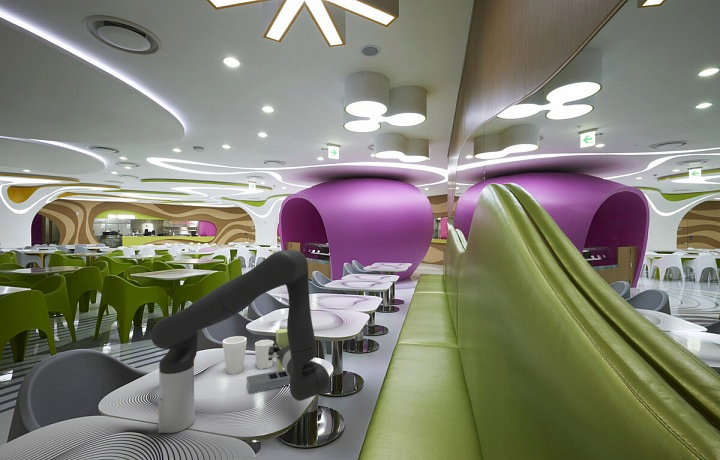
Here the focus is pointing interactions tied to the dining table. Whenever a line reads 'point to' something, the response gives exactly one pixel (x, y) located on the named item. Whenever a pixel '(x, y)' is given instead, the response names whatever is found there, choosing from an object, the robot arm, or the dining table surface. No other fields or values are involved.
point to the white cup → (263, 353)
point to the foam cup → (234, 353)
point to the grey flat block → (267, 381)
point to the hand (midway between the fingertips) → (282, 343)
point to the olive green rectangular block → (281, 344)
